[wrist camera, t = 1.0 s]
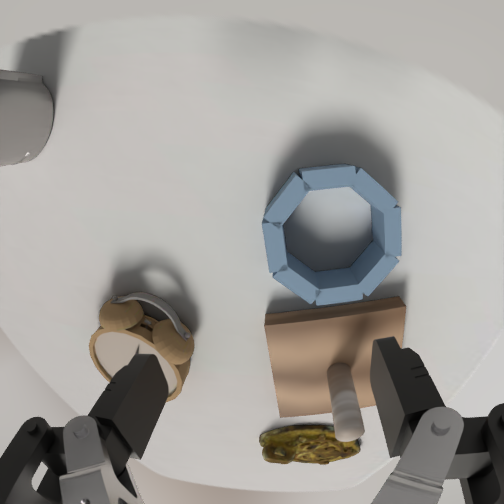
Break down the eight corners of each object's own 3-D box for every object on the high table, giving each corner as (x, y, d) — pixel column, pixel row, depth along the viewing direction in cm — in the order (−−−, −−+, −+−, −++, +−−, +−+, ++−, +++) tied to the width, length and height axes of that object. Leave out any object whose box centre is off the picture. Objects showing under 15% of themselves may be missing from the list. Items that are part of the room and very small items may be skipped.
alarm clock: (88, 374, 30) (85, 290, 23) (105, 347, 35) (113, 261, 27) (169, 415, 31) (201, 349, 23) (181, 385, 35) (216, 311, 28)
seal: (372, 421, 34) (266, 412, 34) (380, 444, 29) (265, 438, 30) (347, 459, 36) (252, 452, 36) (352, 481, 31) (250, 476, 32)
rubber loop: (258, 174, 24) (254, 178, 20) (382, 160, 22) (397, 162, 19) (276, 291, 27) (275, 310, 24) (387, 276, 25) (400, 293, 22)
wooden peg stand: (265, 314, 28) (256, 389, 18) (399, 296, 26) (441, 360, 17) (280, 405, 32) (277, 475, 22) (388, 390, 30) (409, 455, 21)
